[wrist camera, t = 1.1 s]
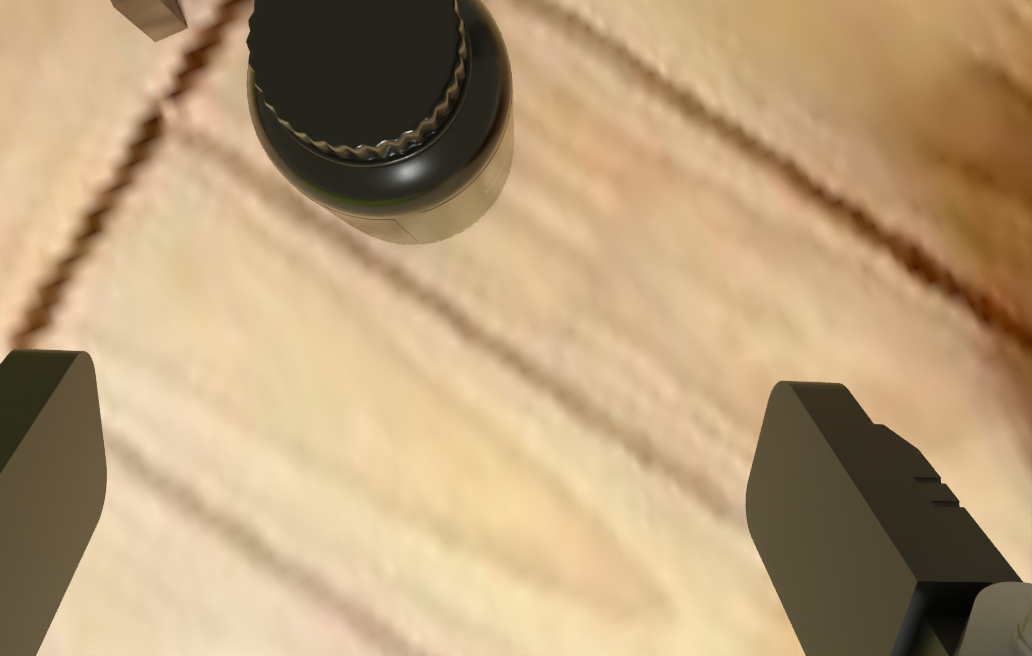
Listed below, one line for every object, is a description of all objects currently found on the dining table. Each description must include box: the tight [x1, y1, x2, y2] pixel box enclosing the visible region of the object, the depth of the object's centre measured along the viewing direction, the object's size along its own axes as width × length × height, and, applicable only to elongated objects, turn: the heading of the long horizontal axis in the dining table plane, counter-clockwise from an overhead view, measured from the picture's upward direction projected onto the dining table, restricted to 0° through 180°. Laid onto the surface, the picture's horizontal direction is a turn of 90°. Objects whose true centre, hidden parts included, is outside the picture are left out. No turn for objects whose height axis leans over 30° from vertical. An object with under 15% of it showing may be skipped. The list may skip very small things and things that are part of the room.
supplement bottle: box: [246, 0, 514, 245], centre depth 27 cm, size 7×7×12 cm
